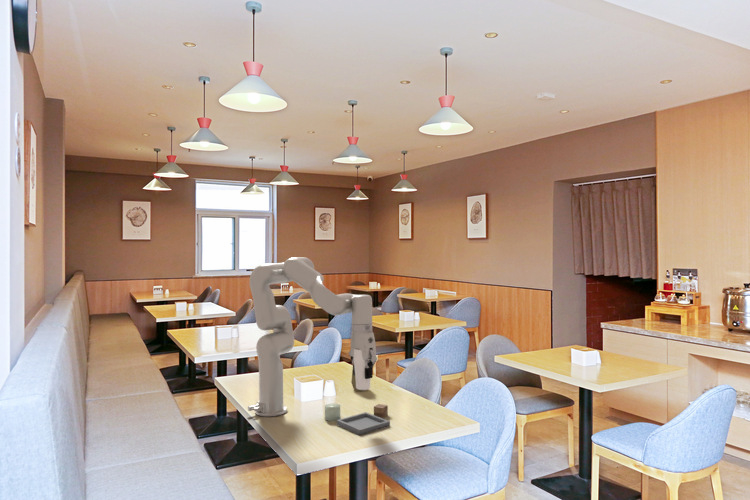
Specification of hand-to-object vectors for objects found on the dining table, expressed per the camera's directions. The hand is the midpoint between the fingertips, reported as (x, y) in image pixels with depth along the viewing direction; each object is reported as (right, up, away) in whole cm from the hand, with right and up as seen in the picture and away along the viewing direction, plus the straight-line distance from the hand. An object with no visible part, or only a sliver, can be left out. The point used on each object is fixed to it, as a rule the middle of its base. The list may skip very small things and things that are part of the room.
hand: (362, 376), depth 186 cm
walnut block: (+7, -18, +11) cm, 22 cm away
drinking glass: (0, -5, 0) cm, 5 cm away
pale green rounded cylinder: (-12, -19, +8) cm, 24 cm away
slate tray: (0, -18, 0) cm, 18 cm away
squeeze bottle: (-3, -19, +49) cm, 52 cm away
